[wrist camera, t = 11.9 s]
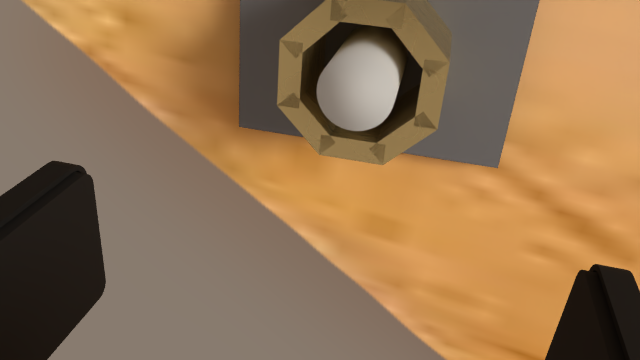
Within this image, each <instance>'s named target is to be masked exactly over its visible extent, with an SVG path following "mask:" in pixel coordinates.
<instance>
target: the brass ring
mask: <svg viewBox="0 0 640 360" xmlns="http://www.w3.org/2000/svg"><path fill="white" fill-rule="evenodd" d="M339 22H347V23H355V24H363V25H371V26H379V27H387V28H392V29H393V31H394V32H395V33H396V35H397V36H398V37H399V38H400V40H401V41H402V42H403V44H404V45H405V46H406V48H407V49H408V50H409V52H410V53H411V54H412V56H413V57H414V58H415V59H416V61H417V62H418V63H419V65H420V66H421V67H422V69H423V72H422V78H421V82H420V83H419V84H417V85H416V86H415V87H413V88H412V89H410V90H409V91H407V92H406V93H405V94H403V95H402V96H400V97H399V98H398V99H396V100H395V102H394V105H393V108H392V110H391V112H390V114H389V115H388V117H387V118H386V119H385V120H384V121H383V122H382V123H381V124H379V125H378V126H376V127H374V128H372V129H368V130H364V131H351V130H346V129H343V128H341V127H339V126H337V125H335V124H334V123H332V122H331V121H330V120H329V119H328V118H327V117H326V116H325V114H324V113H323V112H322V110H321V108H320V106H319V103H318V99H317V83H318V80H319V77H320V75H321V73H322V72H323V70H324V69H325V68H324V59H325V46H326V34H327V32H328V31H329V30H331V29H332V28H333V27H334V26H335V25H337V24H338V23H339ZM451 40H452V33H451V31H450V30H449V29H448V27H447V26H446V24H445V23H444V22H443V20H442V19H441V18H440V16H439V15H438V14H437V12H436V11H435V9H434V8H433V7H432V5H431V4H430V3H429V1H428V0H325V1H324V2H323V3H322V4H320V5H319V6H318V7H317V8H316V9H315V10H313V11H312V12H311V13H310V14H309V15H308V16H306V17H305V18H304V19H303V20H302V21H301V22H300V23H298V24H297V25H296V26H295V27H294V28H293V29H292V30H290V31H289V32H288V33H287V34H286V35H285V36H284V37H282V38H281V39H280V45H279V70H278V94H277V106H278V107H279V108H280V109H281V111H282V112H283V113H284V114H285V115H286V116H287V118H288V119H289V120H290V121H291V122H292V123H293V125H294V126H295V127H296V128H297V129H298V131H299V132H300V133H301V134H302V135H303V136H304V138H305V139H306V140H307V141H308V142H309V143H310V145H311V146H312V147H313V148H314V149H315V150H316V152H317V153H318V154H319V155H324V156H330V157H336V158H342V159H348V160H354V161H361V162H367V163H373V164H379V165H384V164H385V163H387V162H389V161H390V160H392V159H393V158H395V157H396V156H398V155H399V154H401V153H402V152H404V151H405V150H407V149H408V148H410V147H412V146H413V145H415V144H416V143H418V142H419V141H421V140H422V139H424V138H425V137H427V136H428V135H430V134H431V133H433V132H435V131H436V130H437V129H438V124H439V118H440V113H441V108H442V102H443V97H444V91H445V86H446V81H447V75H448V70H449V64H450V54H451Z"/></svg>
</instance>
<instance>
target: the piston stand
mask: <svg viewBox="0 0 640 360" xmlns="http://www.w3.org/2000/svg"><path fill="white" fill-rule="evenodd" d="M324 1H325V0H240V81H239V127H244V128H250V129H256V130H262V131H269V132H275V133H281V134H287V135H294V136H300V137H304V136H303V135H302V134H301V133H300V132H299V131H298V129H297V128H296V127H295V126H294V125H293V123H292V122H291V121H290V120H289V119H288V118H287V116H286V115H285V114H284V113H283V112H282V111H281V109H280V108H279V107H278V106H277V94H278V70H279V45H280V39H281V38H282V37H284V36H285V35H286V34H287V33H288V32H289V31H290V30H292V29H293V28H294V27H295V26H296V25H297V24H298V23H300V22H301V21H302V20H303V19H304V18H305V17H306V16H308V15H309V14H310V13H311V12H312V11H313V10H315V9H316V8H317V7H318V6H319V5H320V4H322V3H323V2H324ZM428 1H429V3H430V4H431V5H432V7H433V8H434V9H435V11H436V12H437V14H438V15H439V16H440V18H441V19H442V20H443V22H444V23H445V24H446V26H447V27H448V29H449V30H450V31H451V33H452V40H451V54H450V64H449V70H448V75H447V81H446V86H445V91H444V97H443V102H442V108H441V113H440V118H439V124H438V129H437V130H436V131H435V132H433V133H431V134H430V135H428V136H427V137H425V138H424V139H422V140H421V141H419V142H418V143H416V144H415V145H413V146H412V147H410V148H408V149H407V150H405V151H404V152H402V153H407V154H413V155H419V156H425V157H432V158H438V159H444V160H451V161H457V162H463V163H469V164H476V165H482V166H488V167H494V168H498V165H499V161H500V157H501V153H502V149H503V145H504V141H505V137H506V133H507V129H508V125H509V121H510V117H511V113H512V109H513V105H514V101H515V97H516V93H517V89H518V84H519V80H520V76H521V72H522V68H523V64H524V60H525V56H526V52H527V48H528V44H529V40H530V36H531V32H532V28H533V24H534V20H535V16H536V12H537V8H538V4H539V0H428ZM324 68H325V69H324V70H323V72H322V73H321V75H320V77H319V80H318V83H317V99H318V103H319V106H320V108H321V110H322V112H323V113H324V114H325V116H326V117H327V118H328V119H329V120H330V121H331V122H332V123H334V124H335V125H337V126H339V127H341V128H343V129H346V130H351V131H364V130H368V129H372V128H374V127H376V126H378V125H379V124H381V123H382V122H383V121H384V120H385V119H386V118H387V117H388V115H389V114H390V112H391V110H392V108H393V105H394V102H395V100H396V99H398V98H399V97H400V96H402V95H403V94H405V93H406V92H407V91H409V90H410V89H412V88H413V87H415V86H416V85H417V84H419V83H420V82H421V78H422V72H423V69H422V67H421V66H420V65H419V63H418V62H417V61H416V59H415V58H414V57H413V56H412V54H411V53H410V52H409V50H408V49H407V48H406V46H405V45H404V44H403V42H402V41H401V40H400V38H399V37H398V36H397V35H396V33H395V32H394V31H393V29H392V28H387V27H379V26H371V25H363V24H355V23H347V22H339V23H338V24H337V25H335V26H334V27H333V28H332V29H331V30H329V31H328V32H327V34H326V46H325V59H324Z"/></svg>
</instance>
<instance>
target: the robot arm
mask: <svg viewBox="0 0 640 360" xmlns="http://www.w3.org/2000/svg"><path fill="white" fill-rule="evenodd" d="M105 283H106V280H105V271H104V263H103V255H102V247H101V239H100V232H99V224H98V216H97V208H96V200H95V192H94V184H93V179H92V177H91V176H90V175H88V174H87V173H86V171H85V169H84V168H83V167H82V166H80V165H74V164H69V163H64V162H59V161H51V162H49V163H47V164H46V165H44V166H43V167H42V168H40V169H39V170H37V171H36V172H34V173H33V174H32V175H30V176H29V177H27V178H26V179H24V180H23V181H21V182H20V183H19V184H17V185H16V186H14V187H13V188H12V189H10V190H9V191H7V192H6V193H4V194H3V195H1V196H0V360H47V359H48V358H49V357H50V356H51V354H52V353H53V352H54V351H55V350H56V349H57V347H58V346H59V345H60V344H61V343H62V341H63V340H64V339H65V338H66V337H67V336H68V335H69V333H70V332H71V331H72V330H73V329H74V328H75V326H76V325H77V324H78V323H79V322H80V321H81V319H82V318H83V317H84V316H85V315H86V314H87V313H88V311H89V310H90V309H91V308H92V307H93V306H94V304H95V303H96V302H97V301H98V300H99V298H100V297H101V296H102V294H103V292H104V288H105ZM545 360H640V291H639V289H638V286H637V284H636V281H635V279H634V276H633V274H632V273H631V271H629V270H624V269H619V268H614V267H609V266H603V265H598V264H595V265H593V266H592V267H591V268H590V270H589V271H586V270H580V271H579V272H578V274H577V276H576V279H575V281H574V284H573V287H572V289H571V292H570V295H569V297H568V300H567V303H566V305H565V308H564V311H563V313H562V316H561V318H560V321H559V324H558V326H557V329H556V332H555V334H554V337H553V340H552V342H551V345H550V348H549V350H548V353H547V356H546V358H545Z"/></svg>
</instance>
